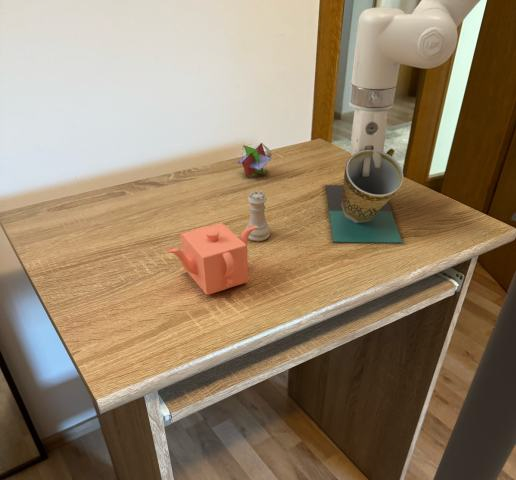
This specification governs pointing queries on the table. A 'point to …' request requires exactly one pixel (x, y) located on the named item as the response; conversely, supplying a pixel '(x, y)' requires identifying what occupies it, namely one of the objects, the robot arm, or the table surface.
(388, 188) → the ceramic cup
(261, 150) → the geometric puzzle
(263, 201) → the rook chess piece
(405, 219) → the table surface
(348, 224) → the plate
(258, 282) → the table surface
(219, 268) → the teapot
